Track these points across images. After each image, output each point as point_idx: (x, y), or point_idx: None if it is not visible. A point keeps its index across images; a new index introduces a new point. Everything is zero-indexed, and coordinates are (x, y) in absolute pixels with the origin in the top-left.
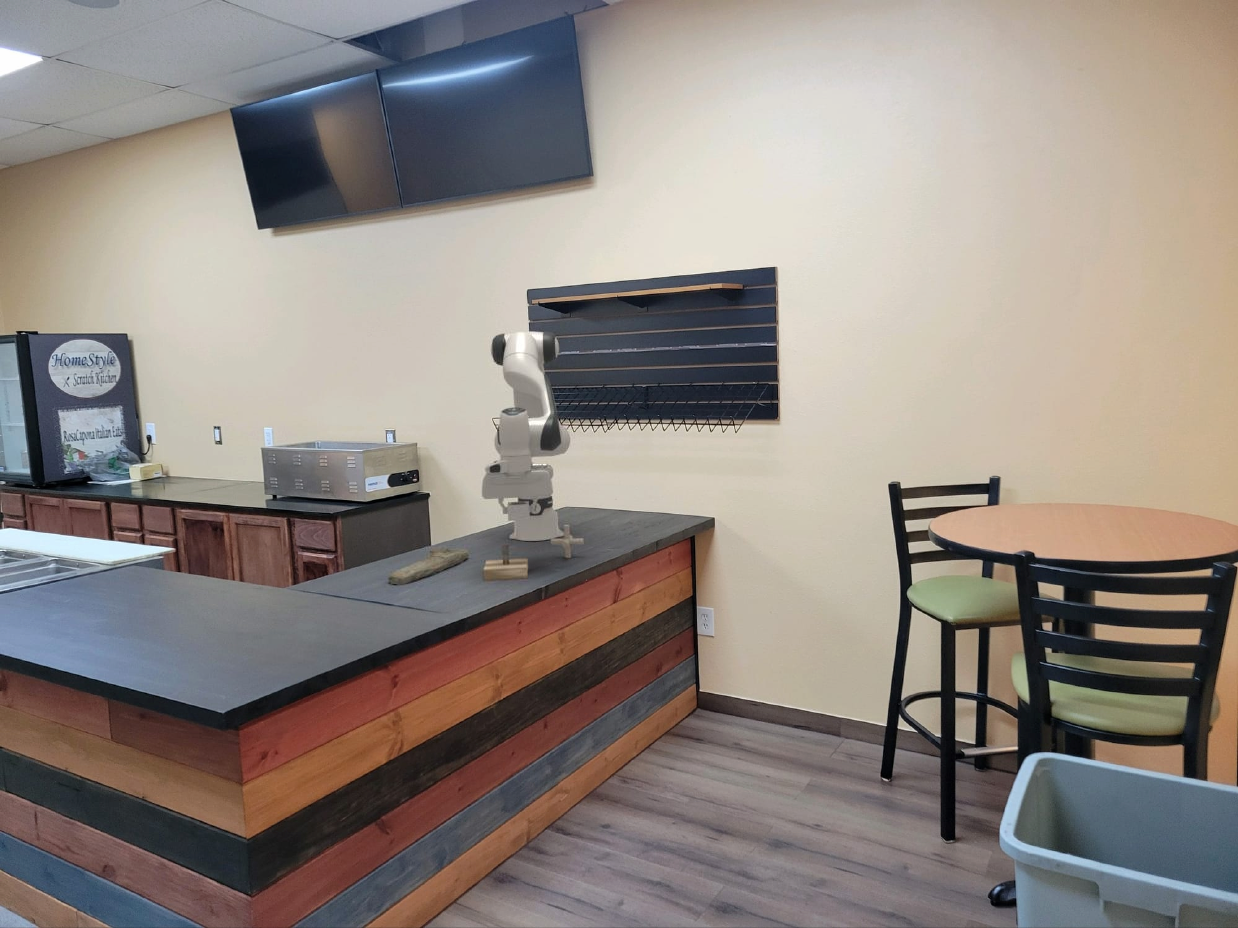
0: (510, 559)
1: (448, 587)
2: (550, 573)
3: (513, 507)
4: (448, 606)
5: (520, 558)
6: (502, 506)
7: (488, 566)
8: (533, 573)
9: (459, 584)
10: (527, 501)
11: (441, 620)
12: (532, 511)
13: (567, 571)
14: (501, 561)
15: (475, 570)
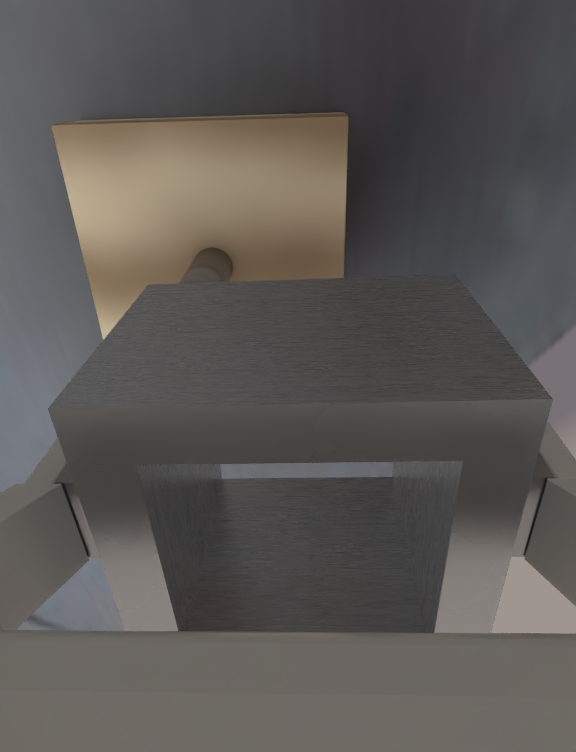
0: (224, 143)
1: (6, 429)
2: (465, 283)
3: None
4: (103, 609)
5: (295, 125)
6: (42, 578)
7: (119, 311)
8: (372, 264)
9: (35, 395)
10: (511, 422)
11: None
12: None
13: (567, 258)
14: (170, 194)
15: (4, 112)
